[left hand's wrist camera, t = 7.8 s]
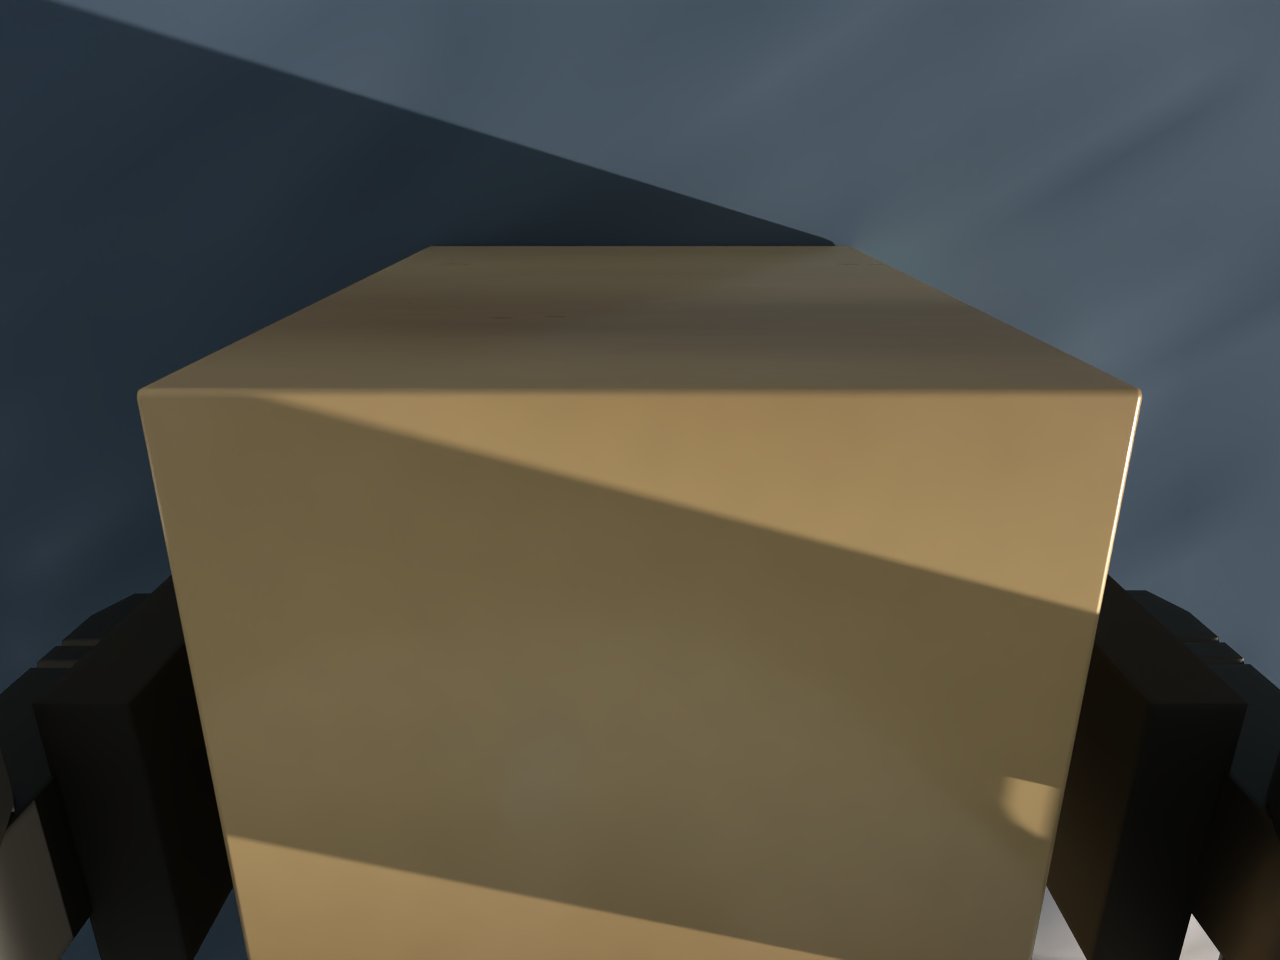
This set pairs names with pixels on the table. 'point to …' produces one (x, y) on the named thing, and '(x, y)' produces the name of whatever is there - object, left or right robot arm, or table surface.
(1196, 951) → the table surface
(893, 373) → the ash beam
